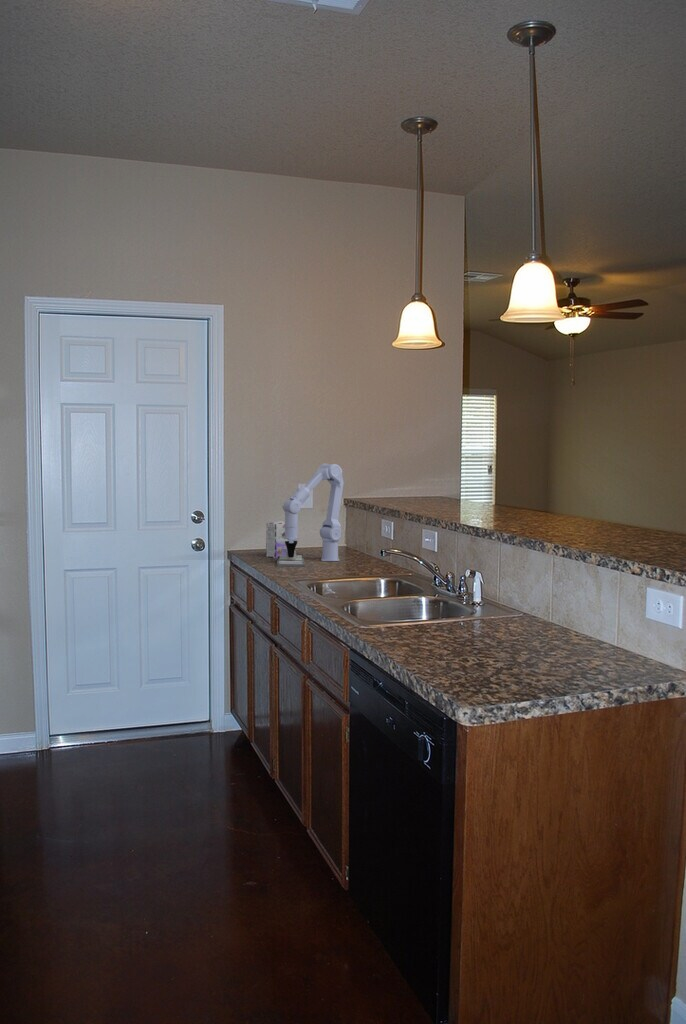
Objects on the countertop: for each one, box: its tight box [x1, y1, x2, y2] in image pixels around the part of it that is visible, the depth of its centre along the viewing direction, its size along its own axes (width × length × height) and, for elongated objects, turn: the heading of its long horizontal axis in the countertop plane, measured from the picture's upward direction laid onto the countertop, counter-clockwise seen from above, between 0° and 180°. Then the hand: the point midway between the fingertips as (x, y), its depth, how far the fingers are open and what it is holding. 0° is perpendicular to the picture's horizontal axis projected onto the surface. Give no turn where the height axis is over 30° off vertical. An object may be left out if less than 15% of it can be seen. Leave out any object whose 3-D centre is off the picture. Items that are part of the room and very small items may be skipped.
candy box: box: [265, 519, 289, 559], centre depth 373 cm, size 14×6×16 cm, turn 144°
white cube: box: [286, 550, 297, 560], centre depth 356 cm, size 4×4×4 cm
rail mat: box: [276, 554, 306, 567], centre depth 353 cm, size 18×12×2 cm, turn 4°
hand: (290, 557), depth 353 cm, fingers closed
